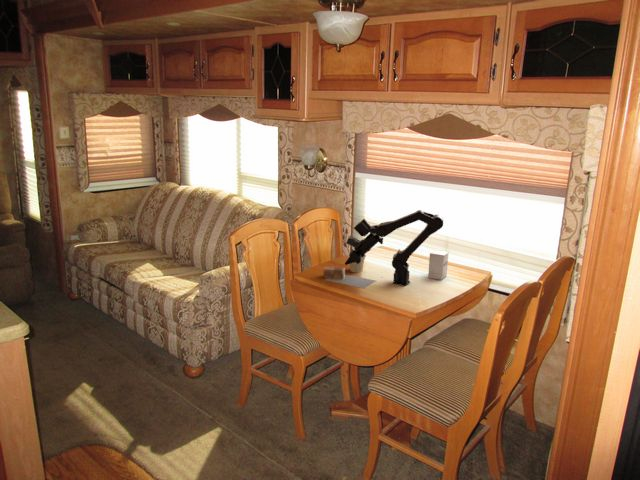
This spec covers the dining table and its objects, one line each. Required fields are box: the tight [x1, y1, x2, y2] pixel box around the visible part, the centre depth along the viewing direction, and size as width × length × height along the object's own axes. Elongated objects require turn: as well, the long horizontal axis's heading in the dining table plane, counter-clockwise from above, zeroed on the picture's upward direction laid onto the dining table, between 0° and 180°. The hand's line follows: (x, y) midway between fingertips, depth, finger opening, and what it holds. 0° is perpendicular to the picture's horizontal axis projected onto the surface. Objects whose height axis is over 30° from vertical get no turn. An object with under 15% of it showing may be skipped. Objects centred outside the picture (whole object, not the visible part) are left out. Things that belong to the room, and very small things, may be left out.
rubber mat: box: [324, 273, 377, 289], centre depth 251 cm, size 22×13×1 cm, turn 57°
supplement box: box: [427, 250, 449, 281], centre depth 257 cm, size 7×7×13 cm
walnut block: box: [322, 266, 346, 280], centre depth 255 cm, size 4×4×10 cm
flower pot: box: [347, 253, 367, 273], centre depth 265 cm, size 9×9×9 cm
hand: (345, 264), depth 252 cm, fingers closed
